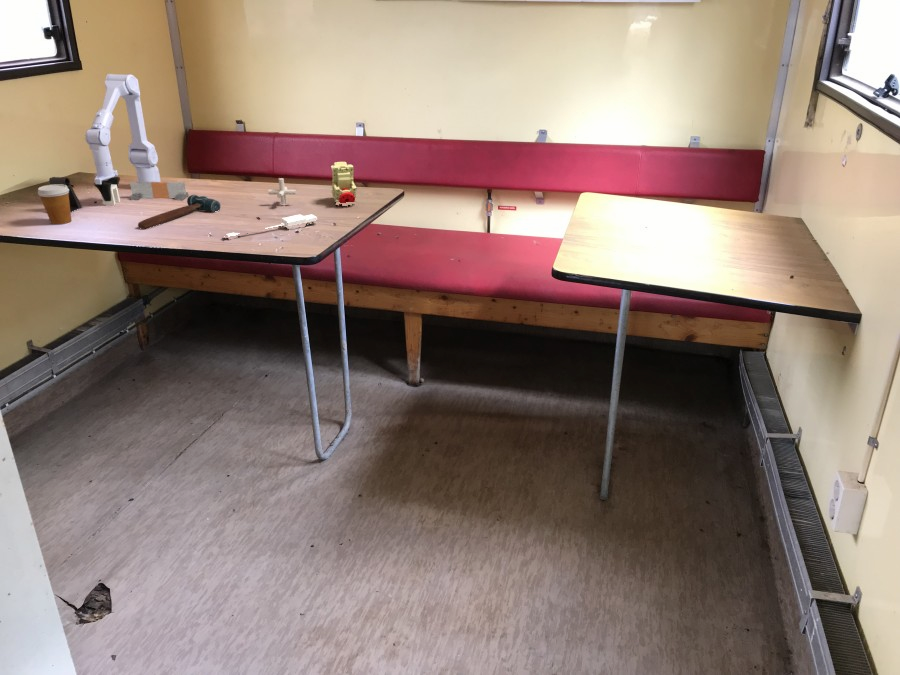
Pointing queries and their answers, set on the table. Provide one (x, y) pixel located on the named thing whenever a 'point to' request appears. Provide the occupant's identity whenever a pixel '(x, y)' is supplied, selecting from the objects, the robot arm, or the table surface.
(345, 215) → the table surface
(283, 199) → the pipe connector
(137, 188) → the grey and orange bar
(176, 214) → the hammer
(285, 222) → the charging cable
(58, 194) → the disposable coffee cup
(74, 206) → the phone stand
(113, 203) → the clip
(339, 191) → the mechanical component
